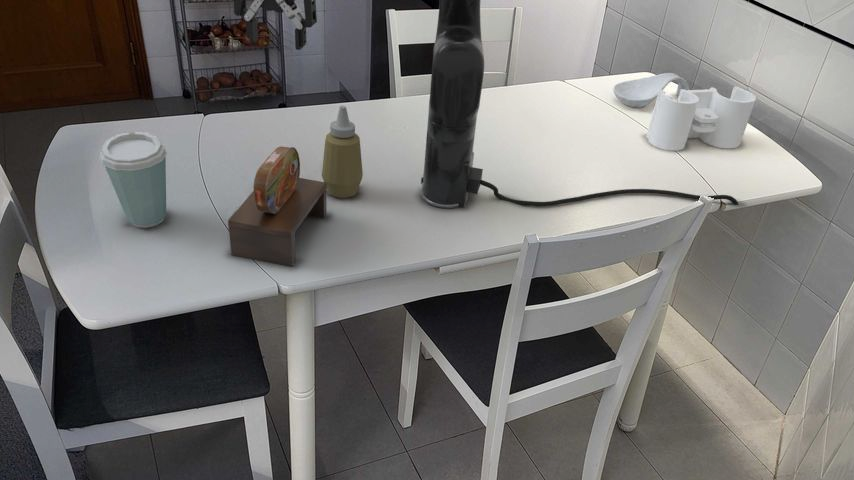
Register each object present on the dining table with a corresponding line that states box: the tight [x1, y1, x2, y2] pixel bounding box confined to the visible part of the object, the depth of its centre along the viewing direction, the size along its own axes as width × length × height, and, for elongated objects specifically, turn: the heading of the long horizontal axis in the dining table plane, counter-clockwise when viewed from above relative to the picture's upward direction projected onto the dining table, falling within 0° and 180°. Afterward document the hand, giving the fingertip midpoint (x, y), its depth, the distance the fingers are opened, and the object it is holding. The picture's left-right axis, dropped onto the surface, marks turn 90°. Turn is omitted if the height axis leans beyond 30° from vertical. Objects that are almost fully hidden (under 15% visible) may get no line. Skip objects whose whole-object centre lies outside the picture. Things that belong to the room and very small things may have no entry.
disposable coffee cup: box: [98, 131, 168, 229], centre depth 129 cm, size 11×11×15 cm
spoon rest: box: [612, 72, 690, 109], centre depth 201 cm, size 24×12×7 cm, turn 117°
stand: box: [227, 177, 328, 268], centre depth 132 cm, size 11×18×7 cm, turn 169°
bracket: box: [646, 86, 757, 152], centre depth 181 cm, size 25×10×12 cm, turn 108°
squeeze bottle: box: [321, 105, 364, 199], centre depth 143 cm, size 8×8×18 cm
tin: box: [253, 146, 301, 214], centre depth 127 cm, size 15×3×8 cm, turn 169°
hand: (276, 44), depth 132 cm, fingers open, 8 cm apart
